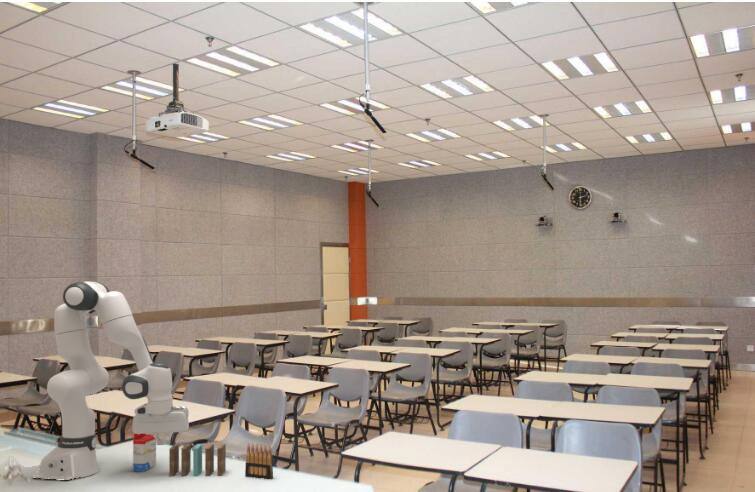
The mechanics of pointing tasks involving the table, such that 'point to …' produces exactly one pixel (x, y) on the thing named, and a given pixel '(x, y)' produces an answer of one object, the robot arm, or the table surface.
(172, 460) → the domino
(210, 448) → the domino
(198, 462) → the domino
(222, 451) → the domino
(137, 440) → the ink box
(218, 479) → the table surface
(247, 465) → the pencil set
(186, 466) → the domino
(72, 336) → the robot arm
